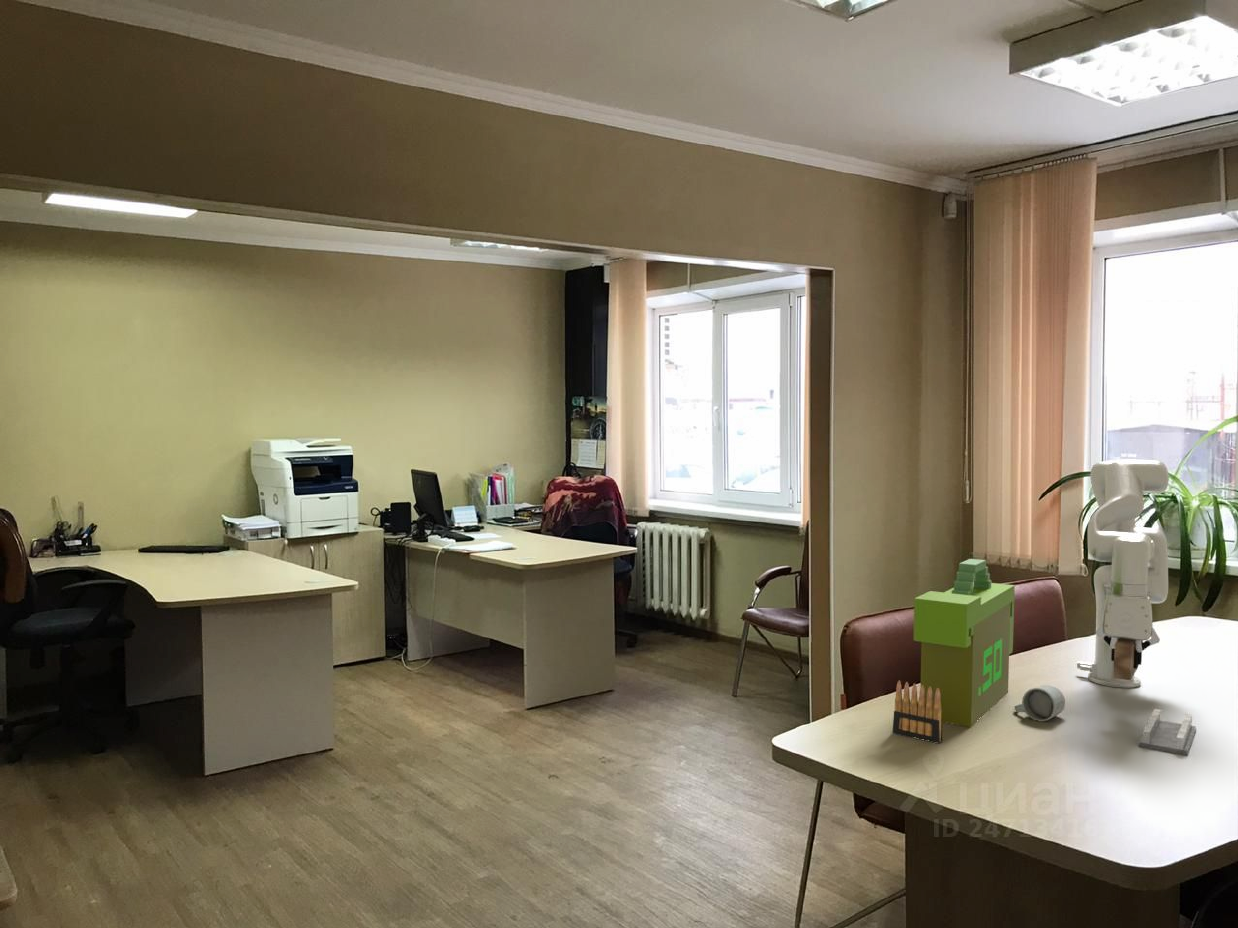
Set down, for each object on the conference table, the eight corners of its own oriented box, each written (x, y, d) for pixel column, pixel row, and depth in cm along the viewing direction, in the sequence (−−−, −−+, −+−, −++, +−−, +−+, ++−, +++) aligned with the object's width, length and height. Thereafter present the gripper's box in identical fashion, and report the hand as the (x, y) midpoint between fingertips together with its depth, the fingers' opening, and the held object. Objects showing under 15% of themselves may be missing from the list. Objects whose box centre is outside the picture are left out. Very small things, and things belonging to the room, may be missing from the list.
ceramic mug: (1067, 717, 224) (1067, 684, 224) (1054, 724, 218) (1054, 691, 218) (1021, 708, 232) (1022, 677, 231) (1008, 715, 226) (1008, 683, 225)
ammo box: (963, 734, 211) (967, 578, 210) (911, 724, 218) (915, 572, 216) (1011, 688, 248) (1015, 555, 246) (965, 681, 255) (969, 551, 253)
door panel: (1113, 677, 221) (1114, 644, 220) (1121, 665, 230) (1122, 633, 230) (1130, 680, 219) (1131, 646, 218) (1137, 667, 228) (1138, 635, 228)
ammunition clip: (942, 741, 206) (943, 687, 206) (939, 743, 205) (940, 689, 204) (895, 730, 213) (896, 678, 213) (892, 733, 212) (893, 680, 211)
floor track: (1138, 746, 204) (1139, 730, 204) (1150, 722, 220) (1151, 708, 220) (1187, 755, 199) (1187, 739, 199) (1195, 730, 215) (1196, 715, 215)
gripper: (1087, 588, 225) (1084, 663, 226) (1167, 596, 215) (1164, 675, 216) (1093, 582, 231) (1090, 656, 232) (1171, 590, 221) (1167, 667, 223)
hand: (1126, 664), depth 224 cm, fingers closed on door panel, 3 cm apart
